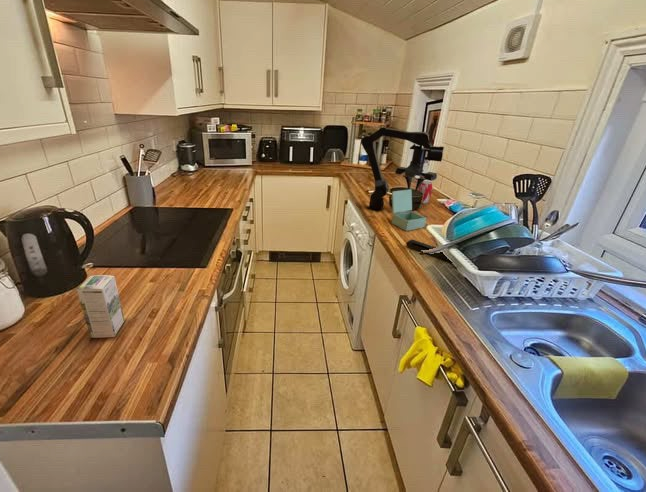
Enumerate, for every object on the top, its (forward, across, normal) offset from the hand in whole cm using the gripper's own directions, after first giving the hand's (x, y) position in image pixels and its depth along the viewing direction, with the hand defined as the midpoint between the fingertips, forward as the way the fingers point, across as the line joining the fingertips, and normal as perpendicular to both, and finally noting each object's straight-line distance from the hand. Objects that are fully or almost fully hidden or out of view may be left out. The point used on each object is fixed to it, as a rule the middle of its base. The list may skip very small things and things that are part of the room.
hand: (412, 190), depth 151 cm
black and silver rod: (+13, +24, -35) cm, 44 cm away
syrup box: (+13, -19, -135) cm, 137 cm away
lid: (+3, +1, -12) cm, 12 cm away
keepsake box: (+13, +6, -14) cm, 20 cm away
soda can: (+13, -2, +25) cm, 28 cm away
